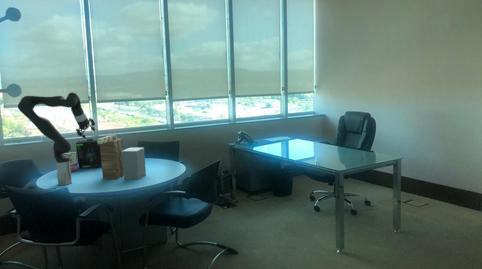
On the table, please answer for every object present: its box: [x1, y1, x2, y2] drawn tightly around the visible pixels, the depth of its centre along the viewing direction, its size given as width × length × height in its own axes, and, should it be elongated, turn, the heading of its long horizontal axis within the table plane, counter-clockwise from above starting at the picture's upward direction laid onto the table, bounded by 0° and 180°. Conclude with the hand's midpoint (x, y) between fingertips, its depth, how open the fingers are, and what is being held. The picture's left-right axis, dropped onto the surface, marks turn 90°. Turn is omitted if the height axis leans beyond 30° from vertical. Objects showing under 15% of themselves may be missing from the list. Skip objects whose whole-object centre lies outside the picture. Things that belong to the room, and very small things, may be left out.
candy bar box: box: [65, 151, 79, 173], centre depth 329 cm, size 11×5×16 cm, turn 129°
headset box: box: [75, 138, 102, 170], centre depth 344 cm, size 22×12×26 cm, turn 101°
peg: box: [96, 134, 118, 144], centre depth 296 cm, size 22×5×4 cm, turn 170°
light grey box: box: [122, 147, 147, 180], centre depth 302 cm, size 14×12×23 cm
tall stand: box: [100, 138, 124, 180], centre depth 304 cm, size 14×12×30 cm
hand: (89, 134), depth 279 cm, fingers open, 8 cm apart
